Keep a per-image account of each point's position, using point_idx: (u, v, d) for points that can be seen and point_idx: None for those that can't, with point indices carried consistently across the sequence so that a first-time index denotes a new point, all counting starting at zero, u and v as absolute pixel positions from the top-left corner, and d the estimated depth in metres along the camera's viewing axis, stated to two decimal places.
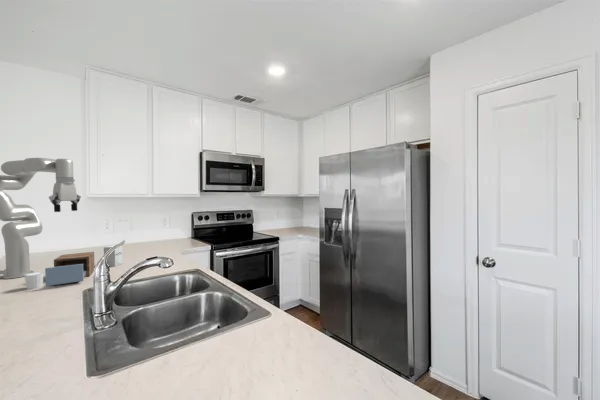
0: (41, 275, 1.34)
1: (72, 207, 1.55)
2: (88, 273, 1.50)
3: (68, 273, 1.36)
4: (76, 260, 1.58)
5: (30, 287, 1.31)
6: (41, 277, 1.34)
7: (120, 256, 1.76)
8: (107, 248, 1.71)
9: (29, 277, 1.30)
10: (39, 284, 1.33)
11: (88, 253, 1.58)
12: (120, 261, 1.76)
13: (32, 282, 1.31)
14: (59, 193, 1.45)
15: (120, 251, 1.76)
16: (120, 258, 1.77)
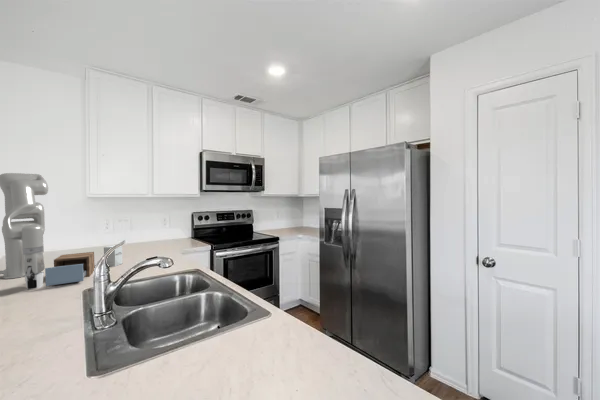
0: (41, 275, 1.34)
1: None
2: (88, 273, 1.50)
3: (68, 273, 1.36)
4: (76, 260, 1.58)
5: None
6: (41, 277, 1.34)
7: (120, 256, 1.76)
8: (107, 248, 1.71)
9: None
10: (39, 284, 1.33)
11: (88, 253, 1.58)
12: (120, 261, 1.76)
13: None
14: None
15: (120, 251, 1.76)
16: (120, 258, 1.77)
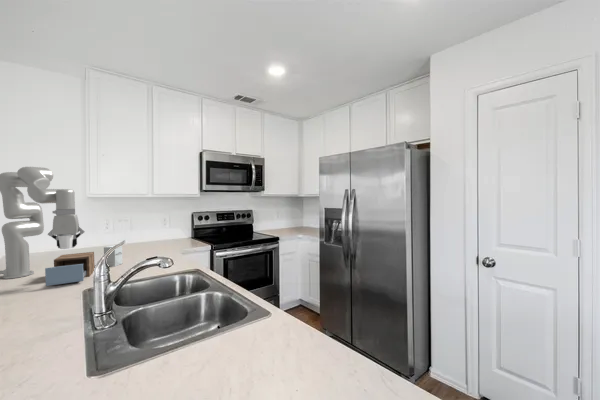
0: (61, 237, 1.37)
1: None
2: (88, 273, 1.50)
3: (68, 273, 1.36)
4: (76, 260, 1.58)
5: None
6: (62, 239, 1.37)
7: (120, 256, 1.76)
8: (107, 248, 1.71)
9: None
10: (61, 245, 1.37)
11: (88, 253, 1.58)
12: (120, 261, 1.76)
13: None
14: None
15: (120, 251, 1.76)
16: (120, 258, 1.77)
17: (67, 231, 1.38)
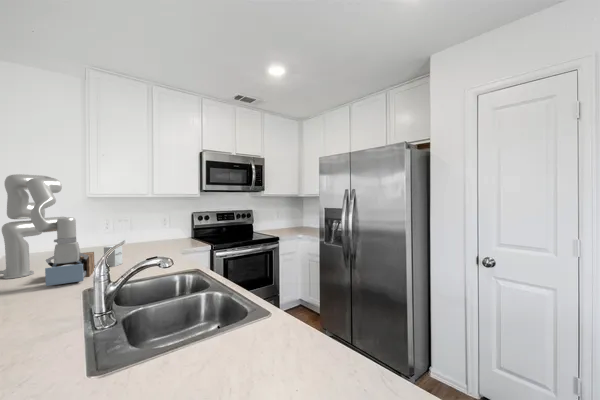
0: None
1: None
2: (88, 273, 1.50)
3: (68, 273, 1.36)
4: None
5: None
6: None
7: (120, 256, 1.76)
8: (107, 248, 1.71)
9: None
10: None
11: (88, 253, 1.58)
12: (120, 261, 1.76)
13: None
14: None
15: (120, 251, 1.76)
16: (120, 258, 1.77)
17: (68, 260, 1.38)
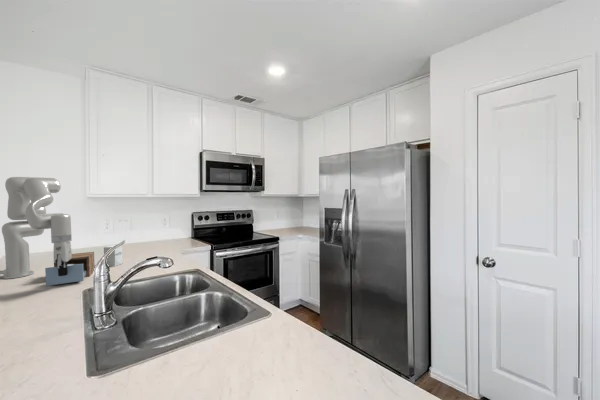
0: None
1: None
2: (88, 273, 1.50)
3: (68, 273, 1.36)
4: (76, 260, 1.58)
5: None
6: None
7: (120, 256, 1.76)
8: (107, 248, 1.71)
9: None
10: None
11: (88, 253, 1.58)
12: (120, 261, 1.76)
13: None
14: None
15: (120, 251, 1.76)
16: (120, 258, 1.77)
17: (70, 257, 1.35)
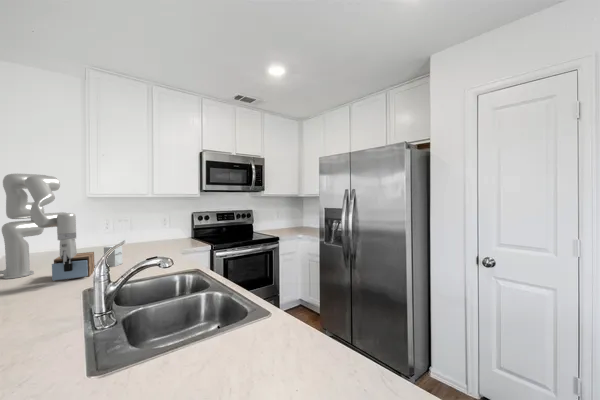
0: None
1: None
2: (88, 273, 1.50)
3: (73, 269, 1.44)
4: (76, 260, 1.58)
5: None
6: None
7: (120, 256, 1.76)
8: (107, 248, 1.71)
9: None
10: None
11: (88, 253, 1.58)
12: (120, 261, 1.76)
13: None
14: None
15: (120, 251, 1.76)
16: (120, 258, 1.77)
17: (75, 253, 1.43)
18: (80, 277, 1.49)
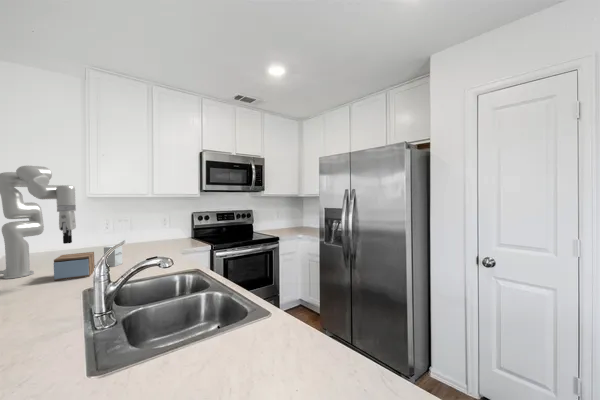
0: None
1: None
2: None
3: (75, 268, 1.46)
4: None
5: None
6: None
7: (120, 256, 1.76)
8: (107, 248, 1.71)
9: None
10: None
11: (88, 253, 1.58)
12: (120, 261, 1.76)
13: None
14: None
15: (120, 251, 1.76)
16: (120, 258, 1.77)
17: (74, 226, 1.43)
18: (80, 277, 1.49)
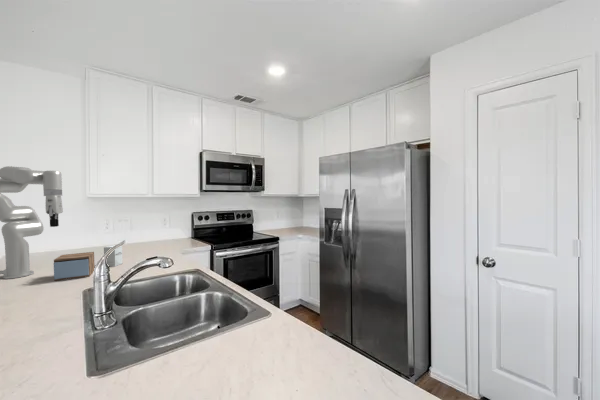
0: None
1: None
2: None
3: (75, 268, 1.46)
4: None
5: None
6: None
7: (120, 256, 1.76)
8: (107, 248, 1.71)
9: None
10: None
11: (88, 253, 1.58)
12: (120, 261, 1.76)
13: None
14: None
15: (120, 251, 1.76)
16: (120, 258, 1.77)
17: (61, 210, 1.49)
18: (80, 277, 1.49)
